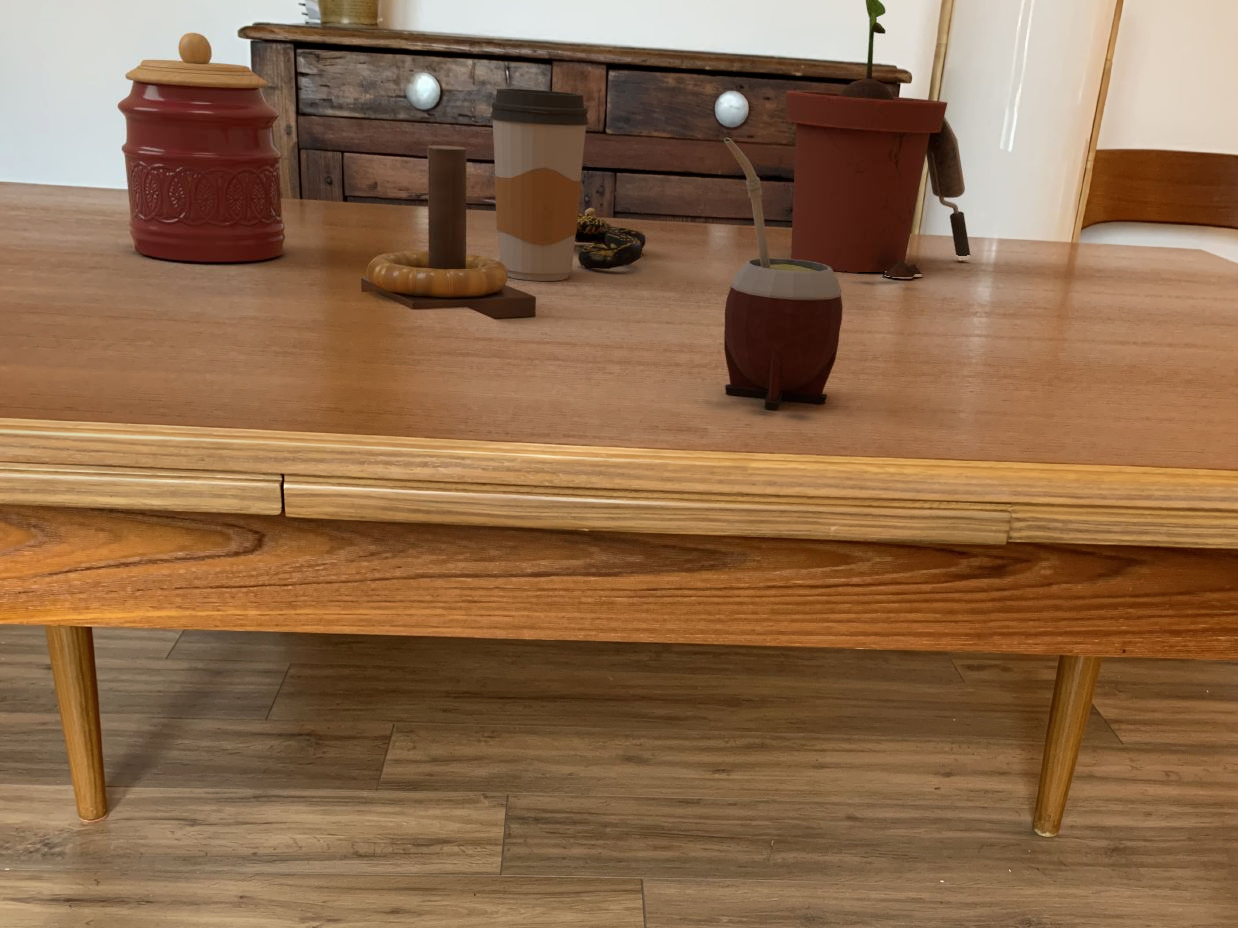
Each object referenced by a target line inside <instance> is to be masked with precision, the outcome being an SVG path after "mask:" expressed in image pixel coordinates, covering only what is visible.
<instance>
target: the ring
mask: <svg viewBox="0 0 1238 928" xmlns="http://www.w3.org/2000/svg"><path fill="white" fill-rule="evenodd" d="M365 271H366V278H368V279H369V281H370V282H371V283H372V284H373V285H375V286H378V287H380V288H382V289H384V290H386V291H389V292H394V293H400V294H406V295H412V296H423V297H441V298H459V297H479V296H484V295H488V294H493V293H497V292H499V291H501V290H502V289H503V288H504V287H505V285H506V284H507V281H508V278H509V277H508V271H507V269H506V267H505V266H504V265H503V264H502V263H501V262H500V261H498V260H495V259H492V258H489V257H487V256H483V255H477V254H470V253H466V269H431V268H429V250H414V251H413V250H412V251H410V250H409V251H395V252H388V253H382V254H378V255H377V256H375V257H374V258H373V259H372V260H371V261H370V262H369V263H368V264H367V267H366V270H365Z"/></svg>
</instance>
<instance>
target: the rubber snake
mask: <svg viewBox="0 0 1238 928" xmlns="http://www.w3.org/2000/svg"><path fill="white" fill-rule="evenodd" d="M575 243H580V244H587V245H583V246H582V247H581V248H580V249H579V251H578V256H577V259H578V262H579V264H580V266H582V267H584V268H585V269H598V270H610V269H613V268H619V267H624V266H630V265H631V264H633V263H635V262H637V261H639V260H640V259H641V258H642V256H643V249H644V247H645V245H646V235H645V234H644V232H642V231H640V230H635V229H630V228H627V227H619V226H612V225H611V224H610V223H607V222H606V220H604V219H603V218H598V217H596V209H595V208H594V207H589V208H587V209H586V210H585V211H584V214H583V213H578V222H577V232H576V234H575Z"/></svg>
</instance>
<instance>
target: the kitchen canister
mask: <svg viewBox="0 0 1238 928" xmlns="http://www.w3.org/2000/svg"><path fill="white" fill-rule="evenodd" d="M178 54H179V57H180V60H176V59H175V60H173V59H172V60H171V59H143V60H141V62H140V64H139V65H137V66H136V67H135V68H133V69H131V70H130V71H127V72H126V73H125V76H124V77H125V79H126V80H128V81H132V85H131V88H130V89H131V90H130V92H129V94H128V95H127V96H126V97H124V98H123V99H121V100H120V101H119V102H118V103H117V109H118V110H119V111H120V112H121V113H122V115H123V116H124V118H125V127H126V139H125V143H124V144H123V145H121V151H122V153H123V155H124V162H125V163H124V164H125V173H126V183H127V184H126V185H127V195H128V203H129V205H128V206H129V215H130V216H129V220H128V226H129V228H130V230H129V235H130V237H131V239H132V242H133V247H134V250H135V252H137V253H139V254H142V255H144V256H148V257H153V258H158V259H163V260H164V259H165V260H172V261H181V262H196V263H240V262H241V263H243V262H255V261H263V260H269V259H273V258H277V257H279V256H281V255H282V254H283V252H284V243H285V240H286V234H285V228H286V227H285V224H284V221H283V211H282V210H283V209H282V192H281V172H280V160H281V159H282V154H281V152H280V151H279V150H278V149H277V147H276V144H275V136H274V124H275V122H276V121H277V120H278V119H279V116H280V114H279V111H278V110H277V109H275V107H273V106H272V105H270V104H269V103H268V102H267V101H266V99H265V97H264V94H263V92H262V89H263V88H267V87H268V82H267V81H266V80H265V79H263V78H261V77H260V76H259V75H257V74H256V73H255V72H253V71H252V69H251V68H250V67H249V66H247V65H241V64H233V63H222V62H210V61H211V60H212V55H213V51H212V46H211V44H210V41H209V39H207V37H206V36H205V35H203V34H201V33H197V32H188V33H187V32H186V33H185V34H183V35H182V36H181V38H180V39H179V42H178Z"/></svg>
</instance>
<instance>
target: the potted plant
mask: <svg viewBox="0 0 1238 928" xmlns="http://www.w3.org/2000/svg"><path fill="white" fill-rule="evenodd" d="M865 6H866V12H867V15H868V19H869V21H868V22H869V24H868V25H869V27H868V28H869V29H868V31H869V32H868V50H867V61H866V62H867V64H866V76H865V78H863V79H859V80H855V81H851V82H850V83H849V84H847V86H846V87H845V88H843V89H842V90H841V91H840V92H835V91H834V92H833V91H813V90H786V91H785V116H786V117H785V120H786V121H787V122H790V123H795V126H796V127H795V145H794V147H795V148H794V170H793V171H794V174H793V197H792V199H793V201H792V227H791V249H790V250H791V251H790V259H794V260H803V261H810V262H816V263H820V264H824V265H826V266H829V267H830V268H831V269H832V270H833V272H841V273H842V272H843V273H855V274H856V273H857V274H859V273H858V272H885V271H887V272H886V273H882V275H886V276H890V277H913V276H914V275H915V274H922V275H923V273H922V271H920V269H919V268H918V266H917V264H916V263H913V264H911V265H909V264H907V263H906V258H907V252H908V248H909V242H910V238H911V232H912V229H913V223H914V216H915V212H916V206H917V202H918V197H919V191H920V187H921V181H922V176H923V171H924V167H925V166H924V165H925V161H926V162H927V168H928V173H929V180H930V184H931V191H932V194H933V195H934V196H935V197H938V199H939V203H940V204H941V205H943V206H944V207H948V208H951V209H952V210H953V212H952V213H951V214H950V215H949V220H950V221H949V222H950V227H951V233H952V239H953V245H954V251H955V256H956V255H958V256H967V255H970V256H971V250H970V243H969V237H968V232H967V225H966V219H965V213H964V212H963V211H961V210H960V211H959V207H958V205H957V204H956V203H955V202H952V201H948V200H945V199H955V198H959V197H961V196H963V195H964V193H965V190H966V188H965V187H966V186H965V180H964V174H963V173H964V172H963V167H962V160H961V155H960V149H959V142H958V139H957V136H956V134H955V132H954V131H953V128H952V127H951V125H950V123H949V121H948V120H947V118H946V116H945V115H946V112H947V108H948V107H947V106H948V102H947V101H940V100H933V99H923V98H912V97H900V96H894V95H893V93H892V92H891V91H890V89H889V88H888V87H887V86H886V84H885V83H883V82H881V81H878V80H875V79H873V63H874V62H873V61H874V37H875V34H883V35H884V34H886V29H885V28H884V27H883V25H882V24H881V23H880V22H878V21H877V19H878V18H879V17H881V16H883V15H885V14H886V7H885V5H884V3H882V2H881V1H880V0H865ZM958 262H960V263H962V262H961V261H958ZM835 270H836V271H835ZM845 271H847V272H845ZM890 279H892V278H890ZM892 280H893V279H892Z"/></svg>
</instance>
